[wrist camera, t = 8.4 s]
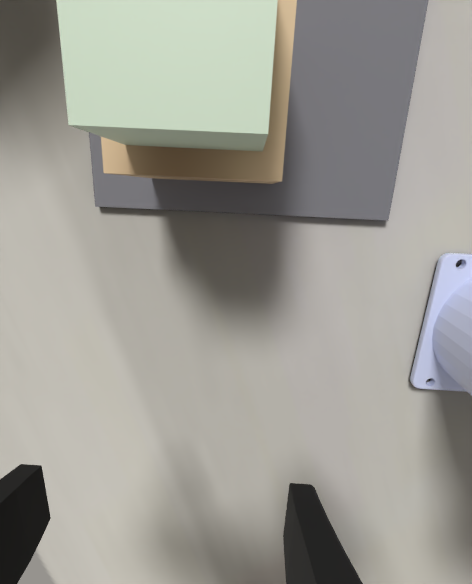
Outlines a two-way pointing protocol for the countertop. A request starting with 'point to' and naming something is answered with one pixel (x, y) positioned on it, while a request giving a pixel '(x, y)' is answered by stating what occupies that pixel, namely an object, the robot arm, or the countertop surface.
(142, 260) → the countertop surface
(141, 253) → the countertop surface
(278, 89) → the oak slab upper
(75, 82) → the sage block
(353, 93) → the mat
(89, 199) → the countertop surface
